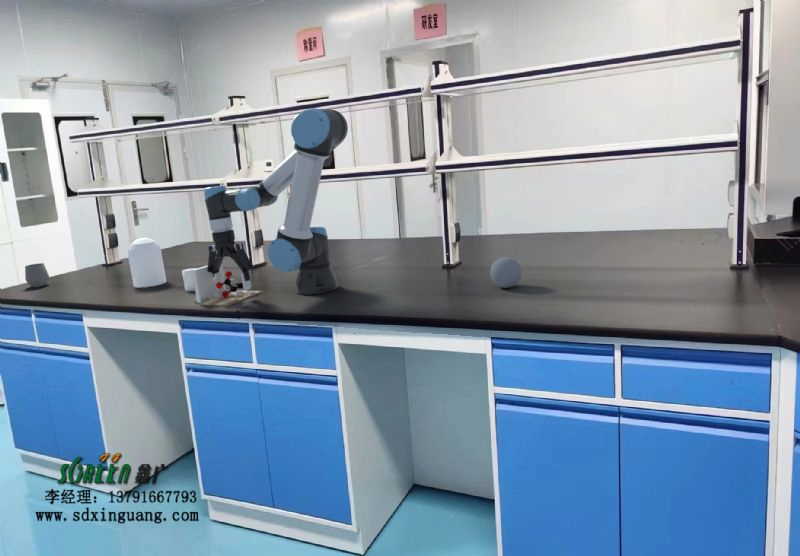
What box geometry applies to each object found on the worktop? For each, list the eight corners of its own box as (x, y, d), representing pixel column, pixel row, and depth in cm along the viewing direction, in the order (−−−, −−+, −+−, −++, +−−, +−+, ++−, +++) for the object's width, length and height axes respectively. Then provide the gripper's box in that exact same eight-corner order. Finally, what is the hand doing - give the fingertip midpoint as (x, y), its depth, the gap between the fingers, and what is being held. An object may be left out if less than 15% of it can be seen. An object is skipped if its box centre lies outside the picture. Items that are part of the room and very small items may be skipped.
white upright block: (204, 287, 245) (201, 268, 244) (193, 291, 240) (190, 271, 239) (192, 287, 248) (189, 268, 246) (181, 291, 243) (178, 271, 241)
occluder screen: (230, 293, 231) (225, 261, 228) (204, 303, 219) (198, 270, 216) (220, 292, 233) (215, 261, 230) (193, 302, 221) (188, 270, 218)
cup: (42, 283, 289) (37, 262, 287) (55, 283, 285) (50, 262, 282) (22, 288, 280) (18, 267, 278) (35, 289, 276) (30, 267, 274)
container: (155, 279, 273) (147, 234, 269) (173, 281, 265) (165, 235, 261) (127, 286, 262) (118, 240, 258) (145, 288, 255) (136, 241, 250)
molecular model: (235, 303, 229) (239, 276, 231) (251, 302, 225) (255, 276, 227) (203, 295, 216) (207, 267, 218) (219, 295, 212) (223, 267, 214)
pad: (261, 292, 227) (261, 290, 227) (229, 305, 211) (228, 304, 211) (234, 291, 233) (233, 290, 232) (200, 304, 217) (200, 302, 217)
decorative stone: (488, 291, 199) (486, 261, 197) (495, 283, 208) (493, 254, 206) (519, 291, 195) (517, 260, 193) (524, 283, 204) (523, 254, 202)
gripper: (256, 226, 214) (266, 286, 219) (204, 230, 225) (215, 288, 229) (242, 229, 208) (253, 292, 212) (189, 234, 218) (201, 293, 223)
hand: (233, 290), depth 221 cm, fingers open, 12 cm apart
